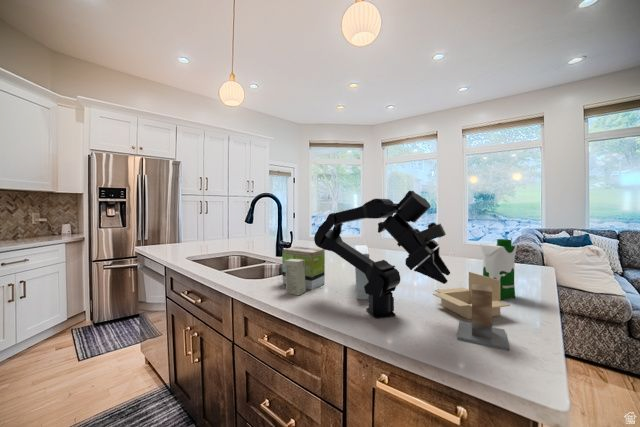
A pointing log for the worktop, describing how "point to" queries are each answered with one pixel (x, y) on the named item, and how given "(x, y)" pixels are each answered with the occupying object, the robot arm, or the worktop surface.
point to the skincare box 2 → (361, 275)
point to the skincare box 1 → (295, 276)
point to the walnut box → (482, 311)
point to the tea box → (307, 264)
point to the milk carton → (500, 265)
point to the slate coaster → (497, 337)
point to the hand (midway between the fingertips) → (447, 278)
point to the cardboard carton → (470, 296)
